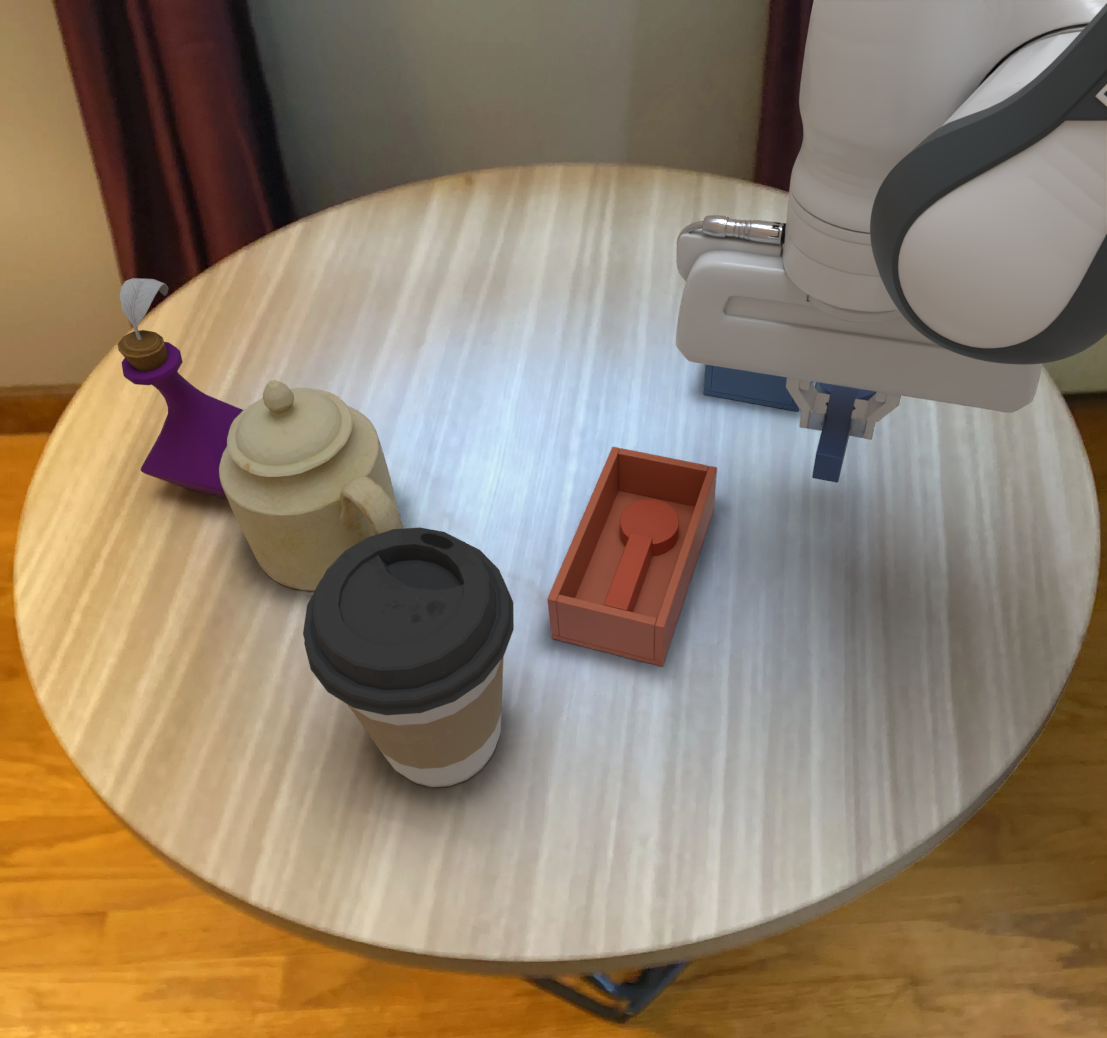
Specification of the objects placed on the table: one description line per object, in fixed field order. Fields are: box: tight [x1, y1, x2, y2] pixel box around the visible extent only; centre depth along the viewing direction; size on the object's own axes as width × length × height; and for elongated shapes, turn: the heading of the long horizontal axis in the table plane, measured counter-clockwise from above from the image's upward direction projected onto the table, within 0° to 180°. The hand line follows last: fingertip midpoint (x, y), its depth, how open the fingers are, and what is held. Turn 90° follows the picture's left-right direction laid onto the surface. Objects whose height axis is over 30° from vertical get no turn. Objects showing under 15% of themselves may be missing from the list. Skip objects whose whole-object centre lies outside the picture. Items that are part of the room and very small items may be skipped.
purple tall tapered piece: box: [117, 277, 244, 499], centre depth 74 cm, size 8×8×18 cm
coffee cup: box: [302, 526, 515, 788], centre depth 59 cm, size 11×11×15 cm
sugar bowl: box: [219, 379, 404, 592], centre depth 70 cm, size 15×11×15 cm
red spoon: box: [604, 499, 679, 612], centre depth 71 cm, size 10×4×2 cm, turn 161°
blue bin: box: [703, 364, 800, 412], centre depth 85 cm, size 8×14×4 cm, turn 161°
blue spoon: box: [811, 382, 877, 484], centre depth 66 cm, size 10×4×2 cm, turn 161°
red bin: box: [546, 446, 718, 667], centre depth 71 cm, size 8×14×4 cm, turn 161°
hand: (837, 427), depth 64 cm, fingers closed on blue spoon, 1 cm apart
